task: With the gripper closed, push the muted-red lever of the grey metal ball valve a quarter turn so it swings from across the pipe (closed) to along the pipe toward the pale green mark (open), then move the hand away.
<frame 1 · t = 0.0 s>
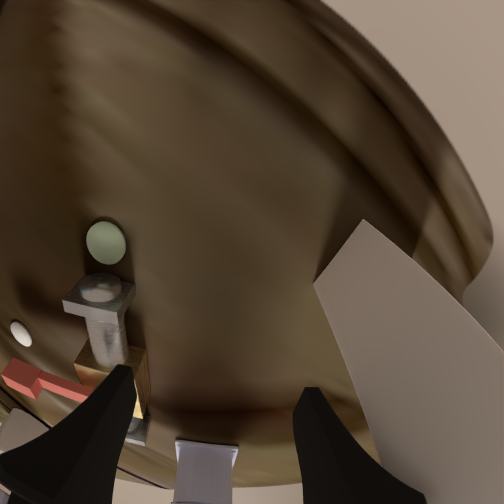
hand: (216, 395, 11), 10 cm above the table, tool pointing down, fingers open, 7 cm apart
open marker: (106, 242, 18), on the table
valve body: (121, 364, 23), on the table
toilet tissue: (34, 425, 32), on the table
closed marker: (21, 333, 22), on the table
lever: (57, 391, 18), point 5 cm above the table, hinge at 0.0°
milk: (364, 269, 20), on the table
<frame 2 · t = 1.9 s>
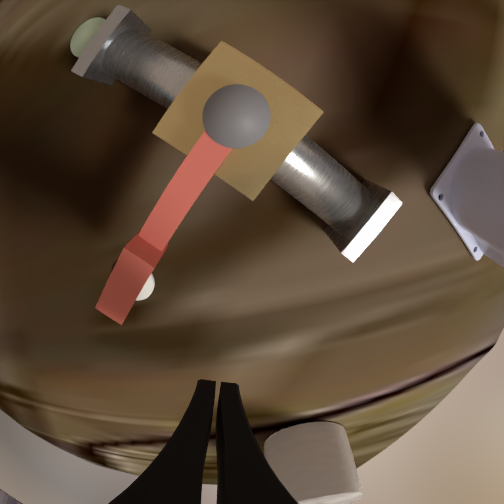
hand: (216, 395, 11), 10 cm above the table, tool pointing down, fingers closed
open marker: (91, 38, 12), on the table
valve body: (238, 121, 16), on the table
toilet tissue: (304, 442, 30), on the table
closed marker: (134, 279, 19), on the table
lever: (171, 207, 12), point 5 cm above the table, hinge at 0.0°
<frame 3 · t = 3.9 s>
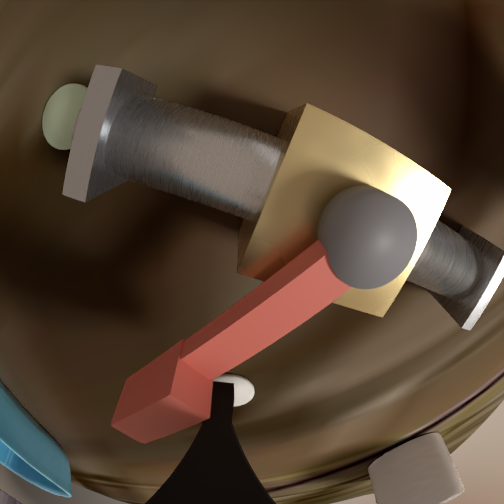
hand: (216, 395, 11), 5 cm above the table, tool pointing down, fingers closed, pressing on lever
open marker: (69, 116, 10), on the table
valve body: (325, 199, 12), on the table
toilet tissue: (404, 454, 26), on the table
closed marker: (229, 389, 17), on the table
lever: (244, 345, 8), point 5 cm above the table, hinge at 28.0°, touching gripper
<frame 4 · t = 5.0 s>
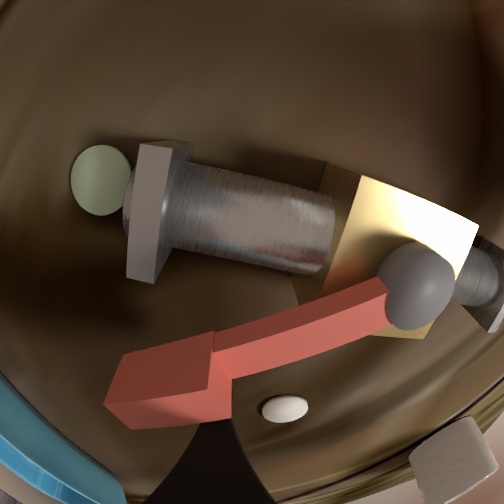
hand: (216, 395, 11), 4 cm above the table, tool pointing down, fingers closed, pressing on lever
open marker: (101, 179, 11), on the table
valve body: (365, 237, 13), on the table
toilet tissue: (440, 439, 25), on the table
closed marker: (284, 407, 18), on the table
casserole dish: (25, 422, 22), on the table
lever: (287, 353, 8), point 5 cm above the table, hinge at 55.6°, touching gripper
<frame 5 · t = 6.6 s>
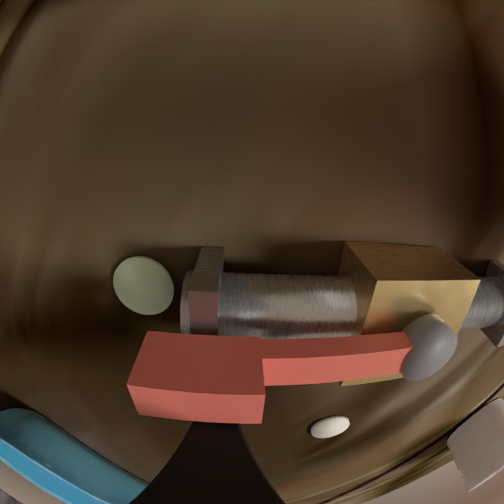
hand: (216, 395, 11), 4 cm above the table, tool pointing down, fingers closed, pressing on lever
open marker: (143, 285, 13), on the table
valve body: (383, 292, 14), on the table
toilet tissue: (474, 422, 25), on the table
closed marker: (329, 425, 19), on the table
casserole dish: (90, 466, 26), on the table
lever: (324, 375, 9), point 5 cm above the table, hinge at 89.2°, touching gripper
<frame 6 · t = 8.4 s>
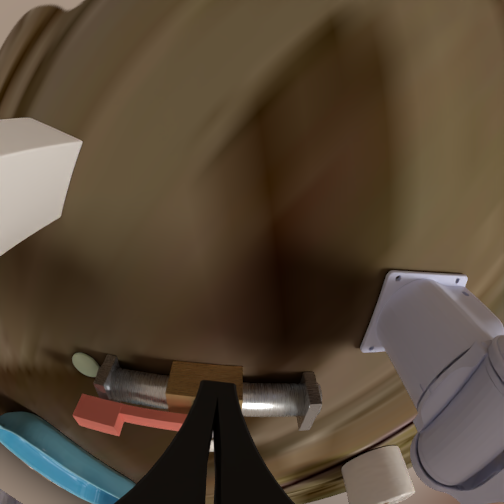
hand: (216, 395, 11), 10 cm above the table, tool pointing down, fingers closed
open marker: (86, 364, 23), on the table
valve body: (207, 384, 24), on the table
toilet tissue: (371, 459, 35), on the table
closed marker: (209, 444, 29), on the table
casserole dish: (71, 453, 35), on the table
lever: (145, 424, 19), point 5 cm above the table, hinge at 89.2°
milk: (44, 165, 16), on the table
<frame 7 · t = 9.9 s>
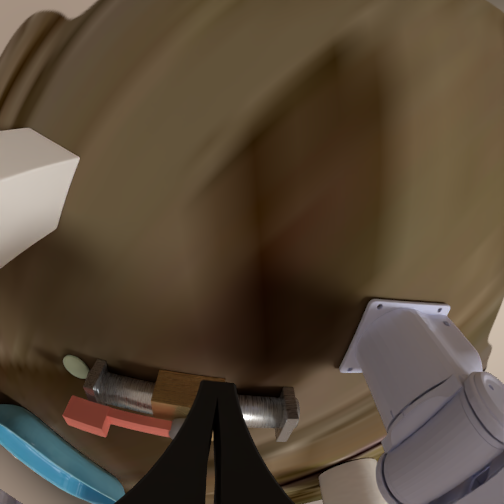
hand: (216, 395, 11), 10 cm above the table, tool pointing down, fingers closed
open marker: (76, 366, 23), on the table
valve body: (191, 392, 25), on the table
toilet tissue: (348, 470, 36), on the table
casserole dish: (57, 447, 35), on the table
lever: (130, 428, 19), point 5 cm above the table, hinge at 89.2°
milk: (42, 177, 16), on the table
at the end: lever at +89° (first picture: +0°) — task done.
